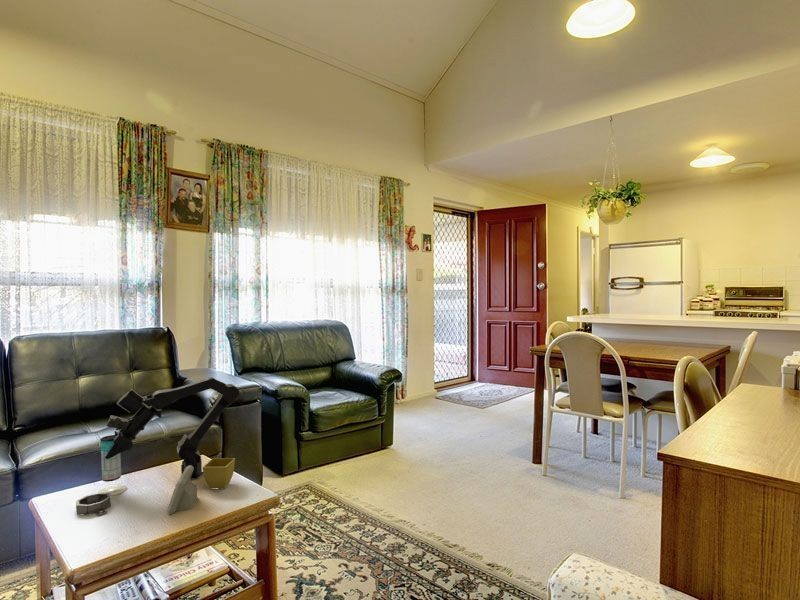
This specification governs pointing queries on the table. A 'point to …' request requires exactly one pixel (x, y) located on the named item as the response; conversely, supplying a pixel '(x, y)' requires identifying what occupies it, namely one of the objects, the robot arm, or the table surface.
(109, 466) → the beverage can
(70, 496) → the table surface
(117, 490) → the dome ceiling light
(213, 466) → the flower pot
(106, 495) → the eye ring
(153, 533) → the table surface
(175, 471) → the table surface
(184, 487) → the digital clock
